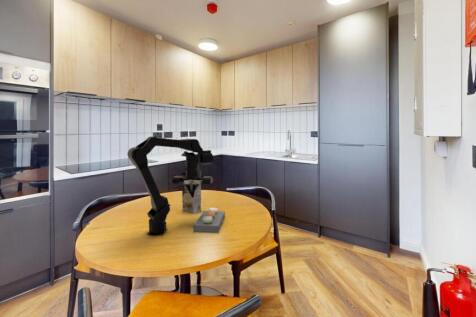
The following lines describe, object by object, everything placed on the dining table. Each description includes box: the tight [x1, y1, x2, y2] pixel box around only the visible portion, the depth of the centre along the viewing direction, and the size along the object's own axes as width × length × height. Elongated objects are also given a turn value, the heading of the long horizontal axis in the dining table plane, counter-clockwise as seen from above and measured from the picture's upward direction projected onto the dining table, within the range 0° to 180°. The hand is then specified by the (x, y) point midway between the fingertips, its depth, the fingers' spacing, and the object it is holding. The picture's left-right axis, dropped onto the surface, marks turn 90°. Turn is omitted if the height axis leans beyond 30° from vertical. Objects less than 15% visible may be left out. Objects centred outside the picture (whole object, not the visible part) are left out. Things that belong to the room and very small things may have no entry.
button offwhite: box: [208, 207, 218, 213], centre depth 128 cm, size 4×4×2 cm
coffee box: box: [181, 182, 202, 214], centre depth 141 cm, size 9×6×16 cm
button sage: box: [203, 216, 212, 223], centre depth 115 cm, size 4×4×2 cm
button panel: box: [193, 210, 226, 234], centre depth 121 cm, size 11×20×3 cm, turn 175°
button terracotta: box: [206, 212, 215, 218], centre depth 121 cm, size 4×4×2 cm
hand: (192, 197), depth 121 cm, fingers closed
